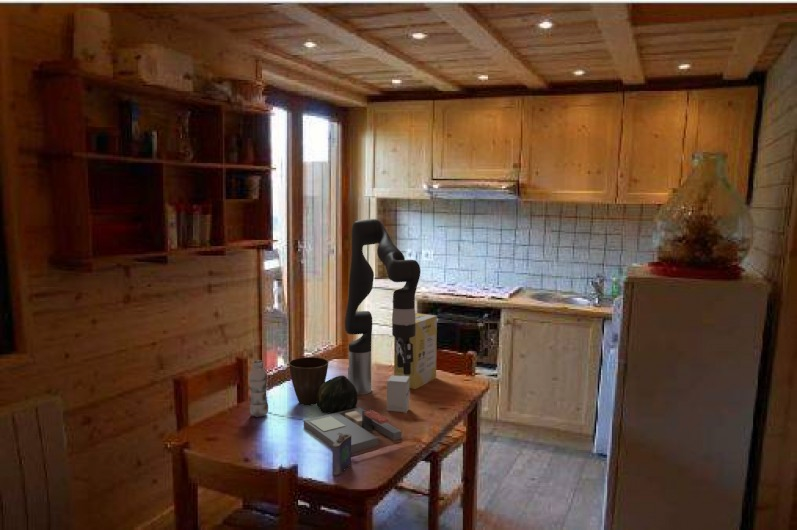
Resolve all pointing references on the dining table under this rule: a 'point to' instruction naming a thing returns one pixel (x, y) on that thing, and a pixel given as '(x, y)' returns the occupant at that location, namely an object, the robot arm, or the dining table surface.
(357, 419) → the slab
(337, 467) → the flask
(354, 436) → the pocket board
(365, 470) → the dining table surface
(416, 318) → the pasta box
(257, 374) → the plastic bottle
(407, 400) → the supplement box
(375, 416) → the tip lever
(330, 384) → the squash
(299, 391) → the plant pot
